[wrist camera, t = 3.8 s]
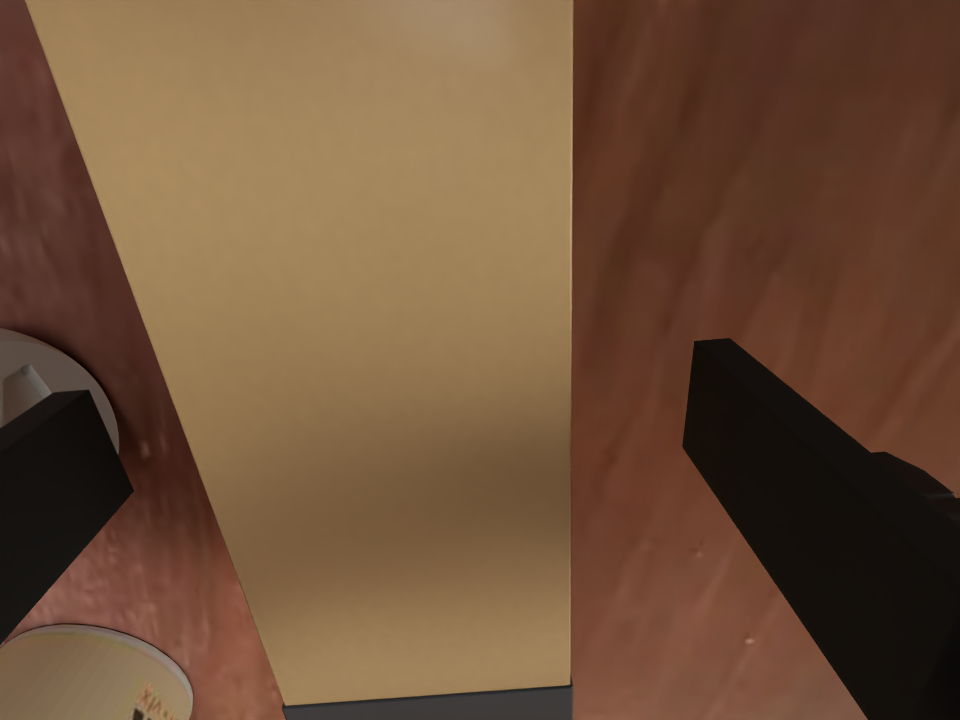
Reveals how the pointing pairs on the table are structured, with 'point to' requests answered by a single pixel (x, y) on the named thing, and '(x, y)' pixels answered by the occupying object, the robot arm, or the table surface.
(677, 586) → the table surface
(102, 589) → the table surface
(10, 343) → the die
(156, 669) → the coffee cup
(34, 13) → the beech block
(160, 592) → the table surface
